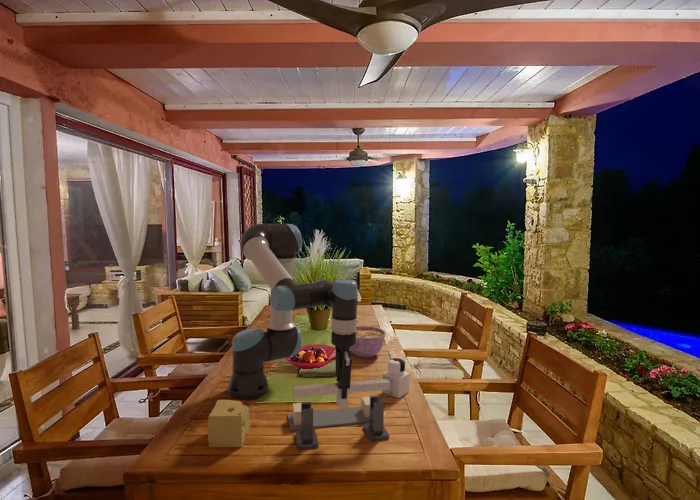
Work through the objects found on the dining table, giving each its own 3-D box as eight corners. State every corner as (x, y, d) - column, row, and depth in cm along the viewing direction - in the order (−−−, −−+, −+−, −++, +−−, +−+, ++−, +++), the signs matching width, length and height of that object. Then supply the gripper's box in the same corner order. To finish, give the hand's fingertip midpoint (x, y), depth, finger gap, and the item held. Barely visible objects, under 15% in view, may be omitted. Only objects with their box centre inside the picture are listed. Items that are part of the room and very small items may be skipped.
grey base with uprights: (290, 430, 125) (290, 415, 125) (287, 415, 135) (287, 401, 135) (383, 420, 132) (383, 406, 132) (374, 406, 142) (374, 393, 142)
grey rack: (298, 449, 116) (298, 413, 115) (295, 434, 123) (295, 400, 122) (389, 438, 122) (390, 404, 121) (381, 425, 130) (382, 393, 129)
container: (392, 386, 159) (393, 355, 158) (409, 391, 155) (410, 359, 153) (381, 392, 153) (382, 360, 152) (398, 398, 149) (399, 365, 147)
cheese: (250, 429, 126) (250, 399, 125) (242, 449, 115) (242, 416, 115) (217, 429, 126) (217, 399, 125) (206, 449, 115) (205, 416, 114)
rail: (293, 397, 117) (293, 389, 117) (293, 393, 119) (293, 386, 119) (389, 389, 124) (390, 382, 124) (387, 386, 126) (387, 378, 126)
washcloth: (300, 366, 179) (300, 359, 179) (339, 366, 180) (339, 359, 180) (298, 378, 166) (298, 371, 166) (340, 378, 167) (340, 370, 167)
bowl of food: (390, 351, 199) (391, 329, 198) (376, 365, 181) (377, 340, 180) (354, 345, 208) (355, 324, 207) (337, 357, 190) (337, 334, 189)
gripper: (362, 338, 113) (359, 416, 115) (350, 323, 128) (348, 392, 130) (336, 340, 111) (334, 419, 114) (327, 324, 126) (325, 394, 129)
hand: (341, 404), depth 122 cm, fingers closed on rail, 2 cm apart
